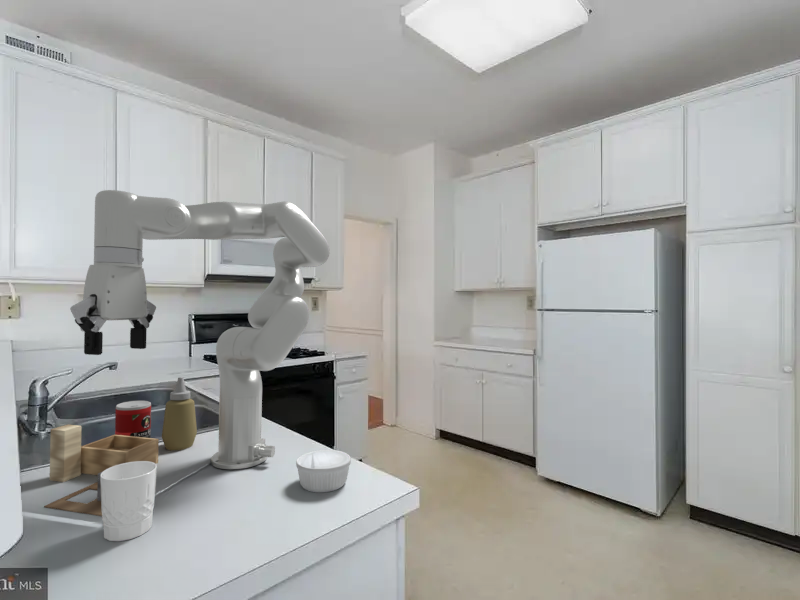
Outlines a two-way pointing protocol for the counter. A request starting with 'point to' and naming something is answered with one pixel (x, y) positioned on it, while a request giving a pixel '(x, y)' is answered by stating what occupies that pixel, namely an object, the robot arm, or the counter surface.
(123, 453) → the toolbox
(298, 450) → the counter surface
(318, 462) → the ramekin
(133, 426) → the canned food
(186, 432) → the squeeze bottle
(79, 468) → the wooden block
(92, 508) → the wooden frame
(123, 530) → the white cup
